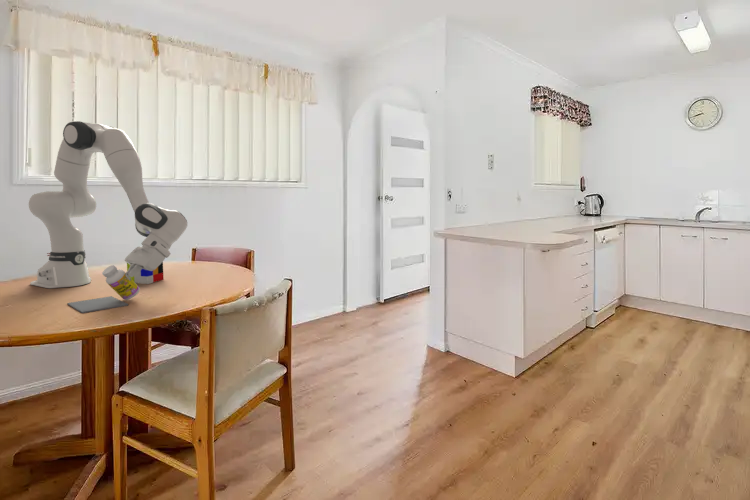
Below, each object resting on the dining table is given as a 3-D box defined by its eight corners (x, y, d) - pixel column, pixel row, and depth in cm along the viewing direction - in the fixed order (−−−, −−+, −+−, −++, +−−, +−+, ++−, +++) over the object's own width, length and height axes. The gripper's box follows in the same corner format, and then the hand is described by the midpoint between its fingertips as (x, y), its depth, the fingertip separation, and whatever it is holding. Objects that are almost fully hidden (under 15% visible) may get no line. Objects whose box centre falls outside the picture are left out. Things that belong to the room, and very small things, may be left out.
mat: (111, 297, 163) (111, 296, 163) (128, 305, 153) (128, 304, 153) (67, 304, 153) (67, 303, 153) (82, 313, 142) (82, 311, 142)
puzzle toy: (148, 284, 187) (146, 261, 186) (127, 282, 189) (126, 260, 188) (163, 279, 197) (162, 257, 195) (144, 278, 199) (143, 256, 197)
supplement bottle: (124, 303, 158) (98, 279, 150) (123, 295, 163) (99, 270, 155) (141, 293, 159) (116, 268, 152) (140, 284, 164) (116, 260, 157)
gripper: (136, 239, 170) (110, 267, 164) (159, 243, 157) (132, 273, 151) (149, 249, 174) (124, 277, 168) (172, 254, 161) (146, 284, 154)
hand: (128, 275), depth 159 cm, fingers closed, pressing on supplement bottle
